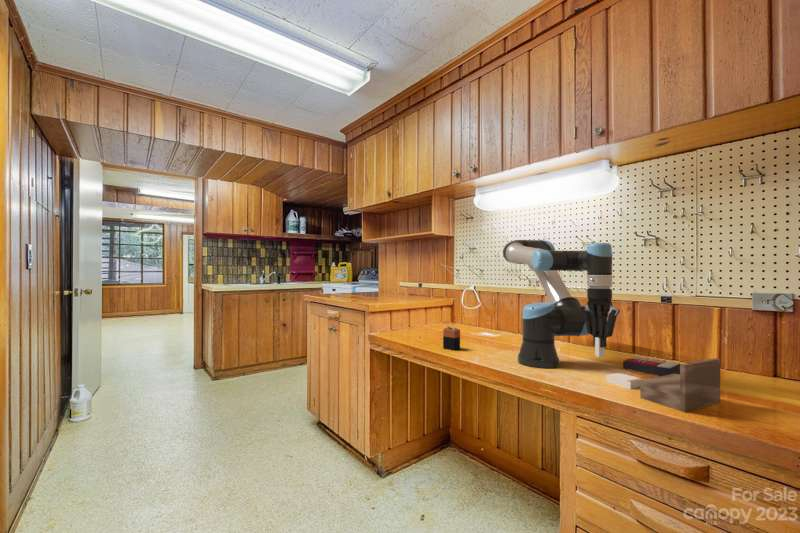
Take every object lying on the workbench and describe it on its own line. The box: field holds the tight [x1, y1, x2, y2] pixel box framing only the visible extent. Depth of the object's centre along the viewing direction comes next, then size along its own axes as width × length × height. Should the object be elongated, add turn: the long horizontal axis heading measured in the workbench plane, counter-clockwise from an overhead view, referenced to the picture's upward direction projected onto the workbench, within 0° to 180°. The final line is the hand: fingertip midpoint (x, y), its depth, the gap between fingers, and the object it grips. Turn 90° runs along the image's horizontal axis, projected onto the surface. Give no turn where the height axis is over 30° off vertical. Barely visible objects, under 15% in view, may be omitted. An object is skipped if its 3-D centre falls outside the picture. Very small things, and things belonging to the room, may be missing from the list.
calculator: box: [622, 355, 681, 377], centre depth 130 cm, size 11×4×15 cm
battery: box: [442, 325, 461, 351], centre depth 162 cm, size 4×7×10 cm, turn 48°
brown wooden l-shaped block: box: [639, 357, 721, 413], centre depth 100 cm, size 11×17×12 cm, turn 115°
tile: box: [605, 372, 646, 390], centre depth 114 cm, size 8×7×3 cm
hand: (599, 356), depth 122 cm, fingers closed
